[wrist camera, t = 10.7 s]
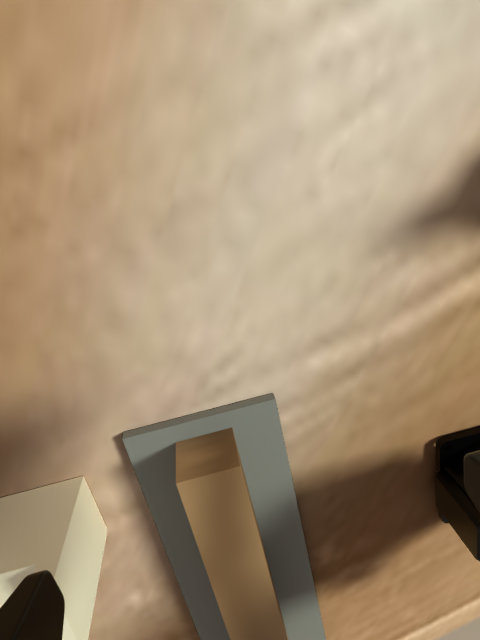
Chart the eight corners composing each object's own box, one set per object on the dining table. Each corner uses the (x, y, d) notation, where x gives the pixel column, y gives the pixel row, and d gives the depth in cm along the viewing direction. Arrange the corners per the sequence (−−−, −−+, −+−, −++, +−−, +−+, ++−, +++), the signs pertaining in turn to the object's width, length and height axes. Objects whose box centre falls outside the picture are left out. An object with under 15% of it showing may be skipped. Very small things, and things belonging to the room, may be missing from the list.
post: (83, 475, 23) (50, 591, 17) (107, 529, 24) (85, 653, 18) (-38, 507, 22) (-116, 637, 16) (-6, 560, 24) (-66, 697, 18)
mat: (272, 392, 23) (275, 398, 22) (330, 664, 32) (333, 673, 31) (123, 431, 22) (122, 439, 22) (225, 696, 31) (226, 706, 31)
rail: (232, 427, 22) (240, 466, 19) (298, 675, 31) (310, 727, 28) (175, 442, 22) (175, 483, 19) (257, 687, 30) (265, 741, 28)
